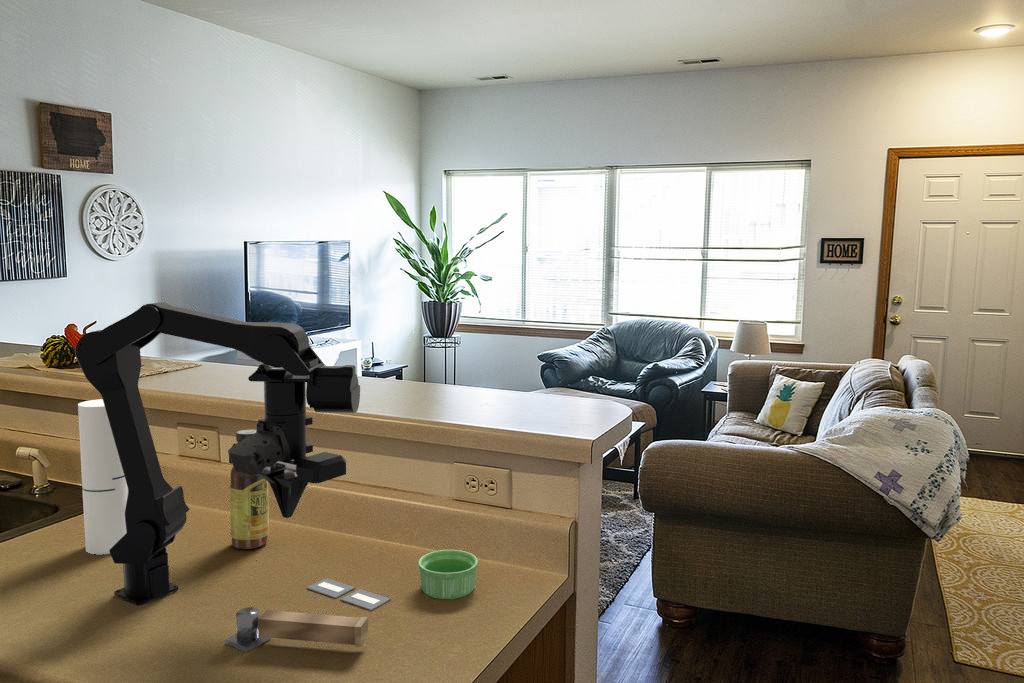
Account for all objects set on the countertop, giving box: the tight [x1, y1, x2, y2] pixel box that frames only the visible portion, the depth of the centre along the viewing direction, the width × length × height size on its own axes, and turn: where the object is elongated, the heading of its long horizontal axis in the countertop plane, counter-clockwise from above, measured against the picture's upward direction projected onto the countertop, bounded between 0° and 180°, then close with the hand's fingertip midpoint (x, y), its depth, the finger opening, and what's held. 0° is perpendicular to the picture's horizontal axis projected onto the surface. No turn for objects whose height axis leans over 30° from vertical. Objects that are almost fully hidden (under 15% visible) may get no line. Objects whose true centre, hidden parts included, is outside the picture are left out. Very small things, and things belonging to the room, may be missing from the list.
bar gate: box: [258, 609, 369, 648], centre depth 96 cm, size 14×3×3 cm, turn 82°
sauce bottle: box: [229, 429, 270, 550], centre depth 129 cm, size 7×6×20 cm
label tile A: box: [306, 577, 356, 599], centre depth 113 cm, size 6×4×1 cm, turn 58°
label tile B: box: [340, 588, 391, 612], centre depth 109 cm, size 6×4×1 cm, turn 58°
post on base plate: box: [224, 606, 272, 653], centre depth 97 cm, size 4×4×4 cm
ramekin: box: [417, 549, 479, 600], centre depth 114 cm, size 9×9×4 cm
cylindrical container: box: [77, 398, 128, 556], centre depth 127 cm, size 7×7×25 cm
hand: (287, 517), depth 109 cm, fingers closed
